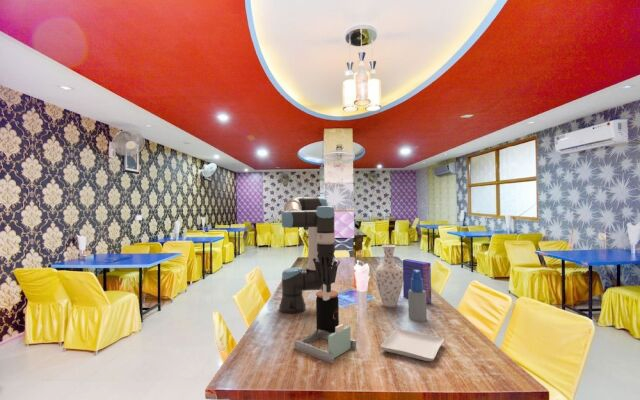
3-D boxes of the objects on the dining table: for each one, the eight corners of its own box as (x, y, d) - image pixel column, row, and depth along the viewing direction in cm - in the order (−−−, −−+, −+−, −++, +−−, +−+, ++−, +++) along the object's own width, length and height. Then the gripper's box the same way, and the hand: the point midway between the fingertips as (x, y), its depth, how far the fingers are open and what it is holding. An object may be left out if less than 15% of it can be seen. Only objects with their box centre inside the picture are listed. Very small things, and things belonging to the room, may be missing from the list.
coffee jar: (337, 336, 145) (336, 296, 145) (314, 334, 147) (313, 295, 147) (340, 327, 155) (339, 290, 155) (318, 326, 157) (318, 289, 157)
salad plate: (433, 367, 117) (433, 358, 117) (379, 353, 128) (379, 345, 128) (445, 345, 135) (445, 337, 135) (396, 335, 146) (396, 327, 146)
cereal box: (431, 302, 193) (430, 262, 193) (426, 304, 190) (425, 263, 190) (408, 295, 207) (407, 258, 207) (403, 297, 204) (402, 259, 205)
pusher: (328, 359, 123) (328, 330, 123) (348, 347, 133) (347, 320, 133) (330, 360, 122) (330, 331, 122) (350, 348, 132) (350, 321, 132)
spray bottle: (409, 315, 171) (408, 268, 172) (426, 316, 169) (425, 269, 169) (408, 320, 163) (407, 271, 163) (426, 322, 160) (425, 272, 160)
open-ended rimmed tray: (294, 348, 133) (294, 340, 133) (319, 336, 145) (319, 328, 145) (332, 363, 120) (332, 354, 120) (356, 349, 132) (356, 340, 132)
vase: (373, 307, 184) (372, 247, 185) (378, 300, 199) (378, 243, 200) (401, 311, 178) (400, 248, 178) (405, 302, 193) (404, 244, 193)
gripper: (308, 242, 135) (308, 298, 135) (332, 245, 126) (333, 304, 126) (319, 240, 140) (320, 294, 140) (343, 243, 132) (344, 300, 132)
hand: (326, 299), depth 133 cm, fingers closed
